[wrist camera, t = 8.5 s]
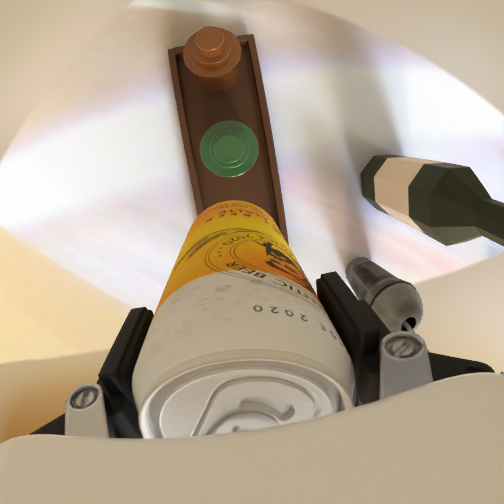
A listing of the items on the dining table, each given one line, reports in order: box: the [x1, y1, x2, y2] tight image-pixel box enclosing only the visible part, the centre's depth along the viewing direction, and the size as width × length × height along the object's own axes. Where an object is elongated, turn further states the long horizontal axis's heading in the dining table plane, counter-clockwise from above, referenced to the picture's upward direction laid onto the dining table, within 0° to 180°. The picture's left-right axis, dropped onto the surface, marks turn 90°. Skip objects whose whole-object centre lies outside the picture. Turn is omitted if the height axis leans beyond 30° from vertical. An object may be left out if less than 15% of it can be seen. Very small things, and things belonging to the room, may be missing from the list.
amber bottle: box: [183, 27, 241, 94], centre depth 27 cm, size 6×6×14 cm
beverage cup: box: [346, 258, 429, 352], centre depth 35 cm, size 7×7×20 cm
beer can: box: [132, 200, 355, 438], centre depth 13 cm, size 6×6×15 cm
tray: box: [168, 34, 289, 246], centre depth 37 cm, size 11×30×3 cm, turn 10°
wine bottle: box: [361, 155, 504, 246], centre depth 26 cm, size 8×8×30 cm
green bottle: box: [200, 120, 259, 177], centre depth 31 cm, size 6×6×14 cm
